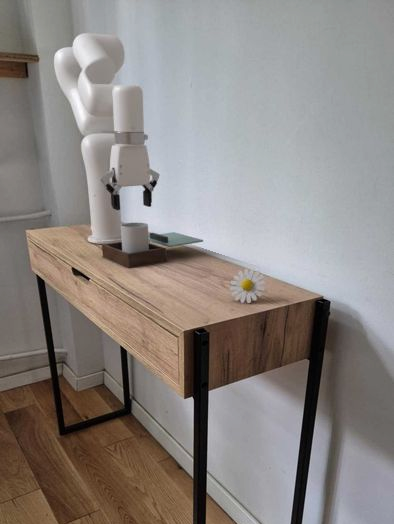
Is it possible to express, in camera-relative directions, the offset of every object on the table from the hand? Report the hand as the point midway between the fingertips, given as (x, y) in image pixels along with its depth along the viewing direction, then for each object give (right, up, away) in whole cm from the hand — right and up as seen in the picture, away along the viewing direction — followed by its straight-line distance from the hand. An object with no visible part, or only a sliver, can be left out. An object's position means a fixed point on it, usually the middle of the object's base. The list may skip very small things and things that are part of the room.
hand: (132, 207), depth 132 cm
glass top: (+11, -7, +7) cm, 15 cm away
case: (0, -14, +2) cm, 14 cm away
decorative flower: (+27, -27, -27) cm, 46 cm away
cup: (0, -13, +2) cm, 13 cm away
